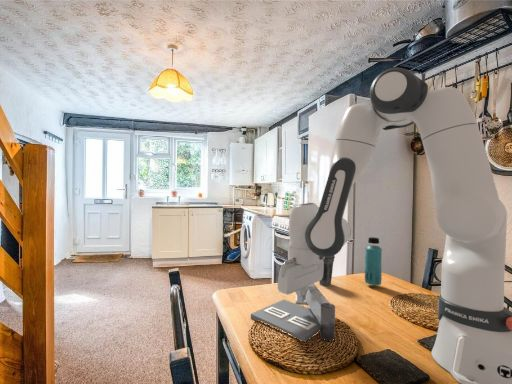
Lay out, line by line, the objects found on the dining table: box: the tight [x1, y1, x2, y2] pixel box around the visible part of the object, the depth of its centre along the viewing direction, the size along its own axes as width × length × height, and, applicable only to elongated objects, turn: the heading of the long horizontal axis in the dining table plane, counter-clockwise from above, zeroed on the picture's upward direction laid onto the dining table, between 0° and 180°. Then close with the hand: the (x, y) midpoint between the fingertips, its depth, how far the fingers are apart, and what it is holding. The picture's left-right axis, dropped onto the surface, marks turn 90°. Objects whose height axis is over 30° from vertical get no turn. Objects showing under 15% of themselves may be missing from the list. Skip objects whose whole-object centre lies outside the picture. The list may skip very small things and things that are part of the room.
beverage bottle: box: [364, 236, 383, 286], centre depth 112 cm, size 6×7×20 cm
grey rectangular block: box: [305, 283, 336, 341], centre depth 81 cm, size 23×4×8 cm, turn 4°
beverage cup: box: [318, 255, 336, 287], centre depth 114 cm, size 7×7×20 cm
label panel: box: [250, 299, 320, 343], centre depth 81 cm, size 19×16×2 cm
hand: (301, 300), depth 84 cm, fingers closed
